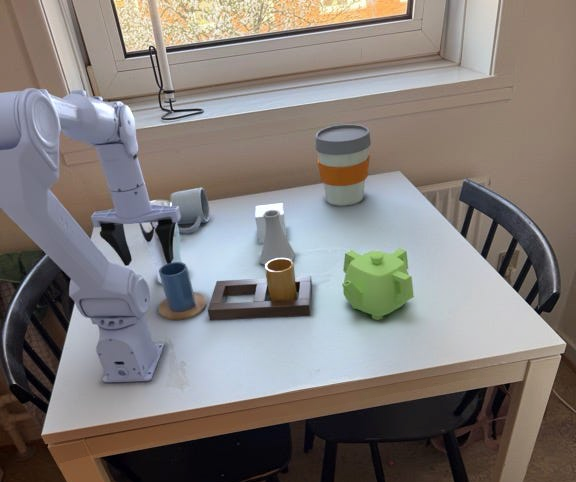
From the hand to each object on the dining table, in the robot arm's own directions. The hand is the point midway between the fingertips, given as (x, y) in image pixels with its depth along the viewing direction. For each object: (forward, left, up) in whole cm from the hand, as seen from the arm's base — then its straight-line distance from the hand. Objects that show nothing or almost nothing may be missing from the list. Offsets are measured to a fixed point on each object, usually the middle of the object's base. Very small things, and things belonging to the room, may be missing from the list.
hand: (149, 261), depth 96 cm
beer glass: (+12, +1, -10) cm, 15 cm away
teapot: (-2, -39, -10) cm, 40 cm away
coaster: (+1, -4, -10) cm, 11 cm away
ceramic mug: (+37, +2, -10) cm, 38 cm away
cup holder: (+1, -19, -10) cm, 21 cm away
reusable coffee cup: (+46, -34, -10) cm, 58 cm away
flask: (+17, -20, -10) cm, 28 cm away
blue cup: (+1, -4, -10) cm, 10 cm away
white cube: (+28, -18, -10) cm, 35 cm away
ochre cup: (+1, -23, -10) cm, 25 cm away
